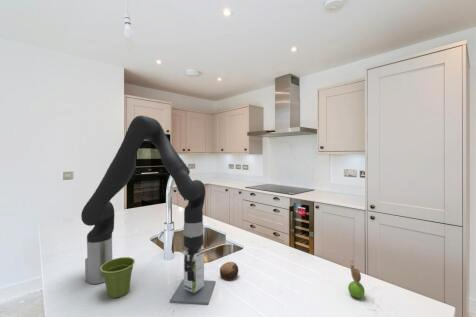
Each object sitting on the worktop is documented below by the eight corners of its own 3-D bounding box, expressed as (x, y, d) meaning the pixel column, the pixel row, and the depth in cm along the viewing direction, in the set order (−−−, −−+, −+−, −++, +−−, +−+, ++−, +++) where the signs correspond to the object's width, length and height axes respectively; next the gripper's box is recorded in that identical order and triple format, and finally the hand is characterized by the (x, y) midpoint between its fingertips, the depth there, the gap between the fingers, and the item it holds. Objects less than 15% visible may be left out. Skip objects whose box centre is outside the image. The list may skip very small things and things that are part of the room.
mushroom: (230, 262, 106) (228, 255, 102) (242, 273, 102) (241, 266, 98) (217, 275, 102) (215, 268, 98) (229, 288, 97) (228, 281, 94)
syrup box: (183, 288, 88) (182, 251, 88) (194, 281, 93) (193, 245, 92) (193, 293, 85) (193, 254, 84) (204, 286, 90) (204, 249, 89)
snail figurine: (357, 290, 89) (358, 259, 89) (367, 301, 83) (368, 268, 83) (344, 290, 89) (344, 260, 89) (353, 301, 83) (353, 268, 83)
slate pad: (169, 302, 82) (169, 300, 82) (182, 281, 96) (182, 279, 96) (208, 305, 81) (208, 302, 81) (215, 282, 95) (215, 280, 95)
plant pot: (110, 284, 94) (109, 257, 94) (139, 283, 95) (139, 256, 95) (94, 303, 82) (93, 272, 82) (128, 302, 83) (127, 271, 83)
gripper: (189, 226, 96) (189, 265, 96) (177, 239, 82) (177, 284, 82) (207, 226, 95) (207, 266, 95) (198, 239, 81) (198, 285, 81)
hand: (193, 274), depth 89 cm, fingers closed on syrup box, 7 cm apart
